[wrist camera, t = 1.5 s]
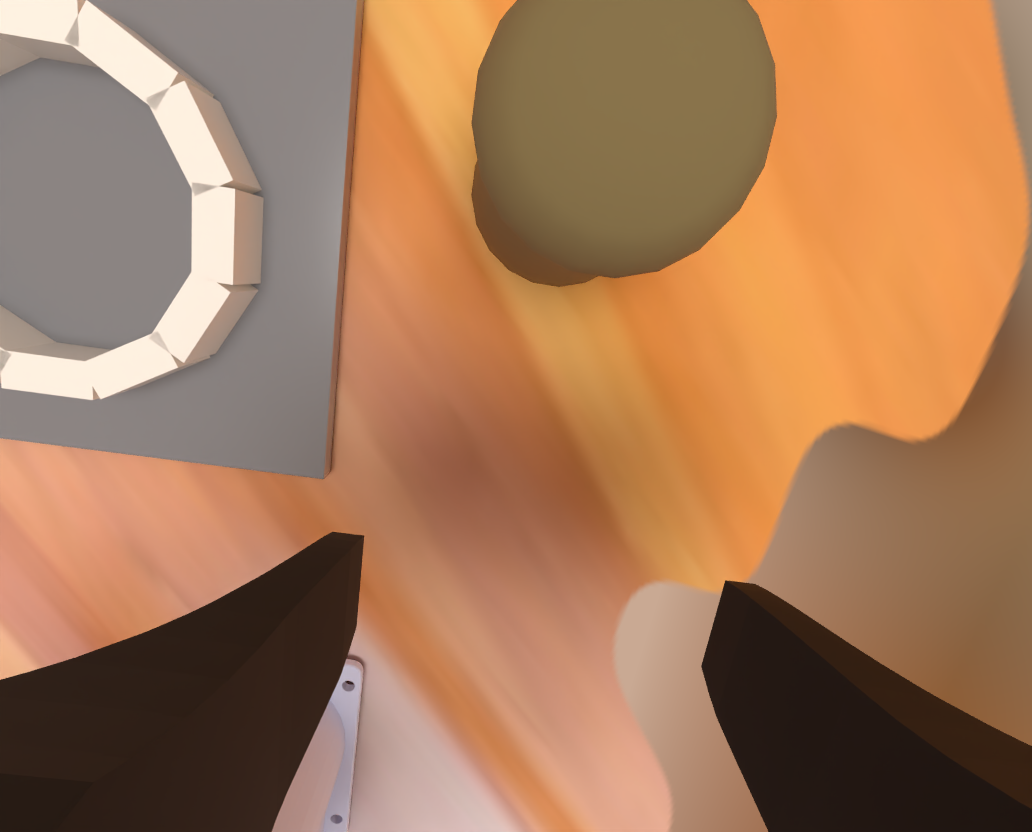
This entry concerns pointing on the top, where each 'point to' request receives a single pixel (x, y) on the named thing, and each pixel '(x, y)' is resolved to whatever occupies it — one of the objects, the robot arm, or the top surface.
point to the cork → (617, 132)
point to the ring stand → (176, 225)
